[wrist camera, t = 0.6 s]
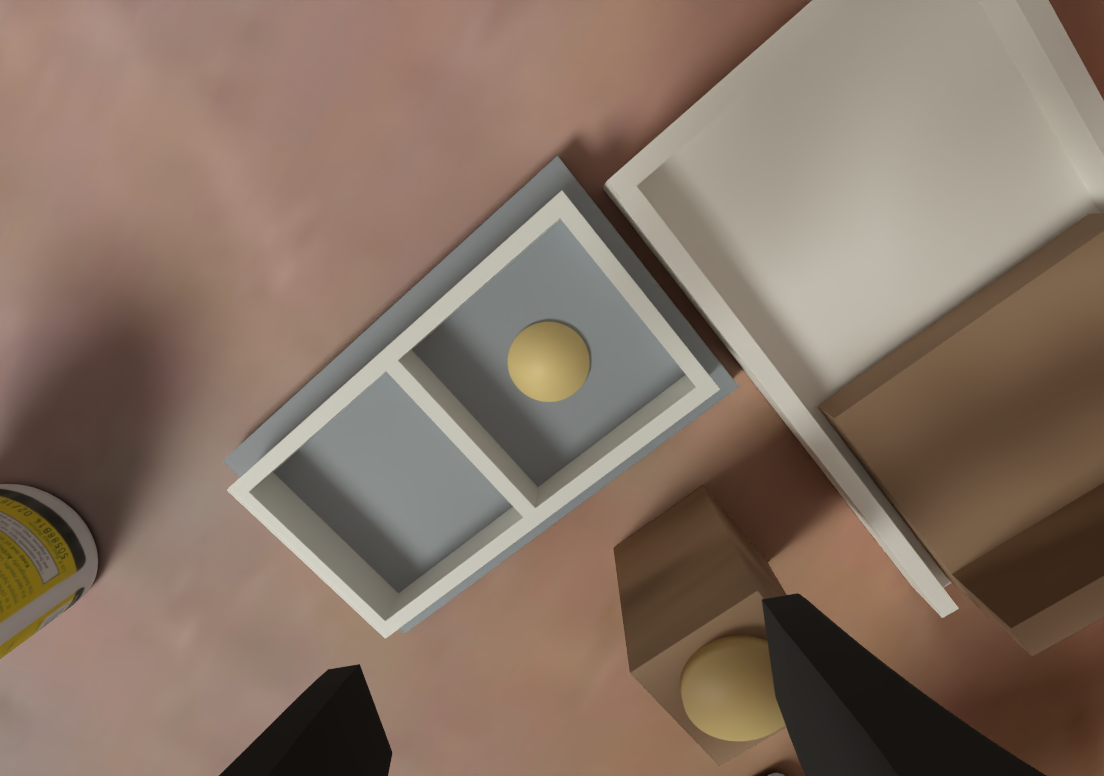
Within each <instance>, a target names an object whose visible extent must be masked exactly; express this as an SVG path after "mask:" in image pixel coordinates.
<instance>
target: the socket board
mask: <svg viewBox="0 0 1104 776" xmlns="http://www.w3.org/2000/svg"><path fill="white" fill-rule="evenodd" d="M738 387H739V386H738V385H737V384H736V382H735V381H734V380H733V379H732V377H731V376H730V375H729V373H728V372H727V371H726V370H725V368H724V367H723V366H722V365H721V363H720V362H719V361H718V359H717V358H716V357H715V356H714V354H713V353H712V352H711V351H710V349H709V348H708V347H707V345H706V344H705V343H704V342H703V340H702V339H701V338H700V337H699V335H698V334H697V333H696V331H695V330H694V329H693V328H692V326H691V325H690V324H689V323H688V321H687V320H686V319H685V317H684V316H683V315H682V314H681V312H680V311H679V310H678V309H677V307H676V306H675V305H674V303H673V302H672V301H671V300H670V298H669V297H668V296H667V295H666V293H665V292H664V291H663V289H662V288H661V287H660V286H659V284H658V283H657V282H656V281H655V279H654V278H653V277H652V275H651V274H650V273H649V272H648V270H647V269H646V268H645V267H644V265H643V264H642V263H641V261H640V260H639V259H638V258H637V256H636V255H635V254H634V252H633V251H632V250H631V249H630V247H629V246H628V245H627V244H626V242H625V241H624V240H623V238H622V237H621V236H620V235H619V233H618V232H617V231H616V230H615V228H614V227H613V226H612V224H611V223H610V222H609V221H608V219H607V218H606V217H605V216H604V214H603V213H602V212H601V210H600V209H599V208H598V207H597V205H596V204H595V203H594V202H593V200H592V199H591V198H590V196H589V195H588V194H587V193H586V191H585V190H584V189H583V188H582V186H581V185H580V184H579V182H578V181H577V180H576V179H575V177H574V176H573V175H572V174H571V172H570V171H569V170H568V168H567V167H566V166H565V165H564V163H563V162H562V161H561V160H560V158H559V157H558V156H557V157H555V158H554V159H553V160H552V161H551V162H550V163H549V164H548V165H547V166H546V167H544V168H543V169H542V170H541V171H540V172H539V173H538V174H537V175H536V176H535V177H533V178H532V179H531V180H530V181H529V182H528V183H527V184H526V185H525V186H524V187H523V188H521V189H520V190H519V191H518V192H517V193H516V194H515V195H514V196H513V197H512V198H510V199H509V200H508V201H507V202H506V203H505V204H504V205H503V206H502V207H501V208H499V209H498V210H497V211H496V212H495V213H494V214H493V215H492V216H491V217H490V218H488V219H487V220H486V221H485V222H484V223H483V224H482V225H481V226H480V227H479V228H478V229H476V230H475V231H474V232H473V233H472V234H471V235H470V236H469V237H468V238H467V239H465V240H464V241H463V242H462V243H461V244H460V245H459V246H458V247H457V248H456V249H454V250H453V251H452V252H451V253H450V254H449V255H448V256H447V257H446V258H445V259H444V260H442V261H441V262H440V263H439V264H438V265H437V266H436V267H435V268H434V269H433V270H431V271H430V272H429V273H428V274H427V275H426V276H425V277H424V278H423V279H422V280H420V281H419V282H418V283H417V284H416V285H415V286H414V287H413V288H412V289H411V290H410V291H408V292H407V293H406V294H405V295H404V296H403V297H402V298H401V299H400V300H399V301H397V302H396V303H395V304H394V305H393V306H392V307H391V308H390V309H389V310H388V311H386V312H385V313H384V314H383V315H382V316H381V317H380V318H379V319H378V320H377V321H376V322H374V323H373V324H372V325H371V326H370V327H369V328H368V329H367V330H366V331H365V332H363V333H362V334H361V335H360V336H359V337H358V338H357V339H356V340H355V341H354V342H352V343H351V344H350V345H349V346H348V347H347V348H346V349H345V350H344V351H343V352H341V353H340V354H339V355H338V356H337V357H336V358H335V359H334V360H333V361H332V362H331V363H329V364H328V365H327V366H326V367H325V368H324V369H323V370H322V371H321V372H320V373H318V374H317V375H316V376H315V377H314V378H313V379H312V380H311V381H310V382H309V383H307V384H306V385H305V386H304V387H303V388H302V389H301V390H300V391H299V392H298V393H297V394H295V395H294V396H293V397H292V398H291V399H290V400H289V401H288V402H287V403H286V404H284V405H283V406H282V407H281V408H280V409H279V410H278V411H277V412H276V413H275V414H273V415H272V416H271V417H270V418H269V419H268V420H267V421H266V422H265V423H264V424H263V425H261V426H260V427H259V428H258V429H257V430H256V431H255V432H254V433H253V434H252V435H250V436H249V437H248V438H247V439H246V440H245V441H244V442H243V443H242V444H241V445H239V446H238V447H237V448H236V449H235V450H234V451H233V452H232V453H231V454H230V455H229V456H227V457H226V458H225V459H224V460H223V462H224V463H225V464H226V465H227V466H228V467H229V468H230V469H231V470H233V471H234V472H235V473H236V474H237V475H238V476H239V477H240V478H239V479H238V480H237V481H236V482H235V483H234V484H233V485H231V486H230V487H229V488H228V489H227V491H228V492H229V493H230V494H231V495H233V496H234V497H235V498H236V499H237V500H238V501H239V502H240V503H241V504H242V505H243V506H244V507H245V508H246V509H247V510H249V511H250V512H251V513H252V514H253V515H254V516H255V517H256V518H257V519H258V520H259V521H260V522H261V523H262V524H263V525H265V526H266V527H267V528H268V529H269V530H270V531H271V532H272V533H273V534H274V535H275V536H276V537H277V538H278V539H279V540H281V541H282V542H283V543H284V544H285V545H286V546H287V547H288V548H289V549H290V550H291V551H292V552H293V553H294V554H295V555H297V556H298V557H299V558H300V559H301V560H302V561H303V562H304V563H305V564H306V565H307V566H308V567H309V568H310V569H311V570H313V571H314V572H315V573H316V574H317V575H318V576H319V577H320V578H321V579H322V580H323V581H324V582H325V583H326V584H327V585H329V586H330V587H331V588H332V589H333V590H334V591H335V592H336V593H337V594H338V595H339V596H340V597H341V598H342V599H343V600H345V601H346V602H347V603H348V604H349V605H350V606H351V607H352V608H353V609H354V610H355V611H356V612H357V613H358V614H359V615H361V616H362V617H363V618H364V619H365V620H366V621H367V622H368V623H369V624H370V625H371V626H372V627H373V628H374V629H375V630H377V631H378V632H379V633H380V634H381V635H382V636H383V637H384V638H385V639H386V638H387V637H388V636H390V635H391V634H392V633H394V632H395V631H396V630H398V629H400V630H401V631H402V632H403V633H404V634H405V633H407V632H408V631H409V630H411V629H412V628H413V627H415V626H416V625H418V624H419V623H420V622H422V621H423V620H424V619H426V618H427V617H428V616H430V615H431V614H432V613H434V612H435V611H436V610H438V609H439V608H441V607H442V606H443V605H445V604H446V603H447V602H449V601H450V600H451V599H453V598H454V597H455V596H457V595H458V594H459V593H461V592H462V591H464V590H465V589H466V588H468V587H469V586H470V585H472V584H473V583H474V582H476V581H477V580H478V579H480V578H481V577H482V576H484V575H485V574H487V573H488V572H489V571H491V570H492V569H493V568H495V567H496V566H497V565H499V564H500V563H501V562H503V561H504V560H505V559H507V558H508V557H510V556H511V555H512V554H514V553H515V552H516V551H518V550H519V549H520V548H522V547H523V546H524V545H526V544H527V543H528V542H530V541H531V540H532V539H534V538H535V537H537V536H538V535H539V534H541V533H542V532H543V531H545V530H546V529H547V528H549V527H550V526H551V525H553V524H554V523H555V522H557V521H558V520H560V519H561V518H562V517H564V516H565V515H566V514H568V513H569V512H570V511H572V510H573V509H574V508H576V507H577V506H578V505H580V504H581V503H583V502H584V501H585V500H587V499H588V498H589V497H591V496H592V495H593V494H595V493H596V492H597V491H599V490H600V489H601V488H603V487H604V486H606V485H607V484H608V483H610V482H611V481H612V480H614V479H615V478H616V477H618V476H619V475H620V474H622V473H623V472H624V471H626V470H627V469H629V468H630V467H631V466H633V465H634V464H635V463H637V462H638V461H639V460H641V459H642V458H643V457H645V456H646V455H647V454H649V453H650V452H652V451H653V450H654V449H656V448H657V447H658V446H660V445H661V444H662V443H664V442H665V441H666V440H668V439H669V438H670V437H672V436H673V435H674V434H676V433H677V432H679V431H680V430H681V429H683V428H684V427H685V426H687V425H688V424H689V423H691V422H692V421H693V420H695V419H696V418H697V417H699V416H700V415H702V414H703V413H704V412H706V411H707V410H708V409H710V408H711V407H712V406H714V405H715V404H716V403H718V402H719V401H720V400H722V399H723V398H725V397H726V396H727V395H729V394H730V393H731V392H733V391H734V390H735V389H737V388H738Z"/></svg>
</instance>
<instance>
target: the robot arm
mask: <svg viewBox="0 0 1104 776" xmlns="http://www.w3.org/2000/svg"><path fill="white" fill-rule="evenodd" d="M762 606H763V613H764V620H765V627H766V634H767V641H768V648H769V655H770V662H771V670H772V677H773V684H774V691H775V697H776V700H777V703H778V705H779V708H780V711H781V714H782V716H783V719H784V722H785V724H786V727H787V730H788V733H789V735H790V738H791V740H792V743H793V746H794V748H795V751H796V754H797V756H798V759H799V761H800V764H801V766H802V768H803V770H804V772H805V774H806V776H1046V775H1044V774H1043V773H1041V772H1039V771H1038V770H1036V769H1035V768H1033V767H1031V766H1030V765H1028V764H1026V763H1025V762H1023V761H1022V760H1020V759H1018V758H1017V757H1015V756H1014V755H1012V754H1011V753H1009V752H1008V751H1006V750H1005V749H1003V748H1002V747H1000V746H999V745H997V744H996V743H994V742H993V741H991V740H990V739H988V738H987V737H985V736H984V735H982V734H981V733H979V732H978V731H976V730H975V729H973V728H972V727H970V726H969V725H968V724H966V723H965V722H963V721H962V720H960V719H959V718H958V717H956V716H955V715H953V714H952V713H950V712H949V711H947V710H946V709H945V708H943V707H942V706H940V705H939V704H938V703H936V702H935V701H934V700H932V699H931V698H929V697H928V696H927V695H925V694H924V693H923V692H921V691H920V690H918V689H917V688H916V687H915V686H913V685H912V684H911V683H909V682H908V681H907V680H905V679H904V678H903V677H901V676H900V675H899V674H897V673H896V672H895V671H894V670H892V669H891V668H890V667H888V666H887V665H886V664H884V663H883V662H882V661H880V660H879V659H878V658H877V657H875V656H874V655H873V654H872V653H870V652H869V651H868V650H867V649H865V648H864V647H863V646H862V645H860V644H859V643H858V642H857V641H855V640H854V639H853V638H852V637H851V636H849V635H848V634H847V633H846V632H844V631H843V630H842V629H841V628H840V627H838V626H837V625H836V624H835V623H834V622H833V621H831V620H830V619H829V618H828V617H827V616H825V615H824V614H823V613H822V612H821V611H820V610H818V609H817V608H816V607H815V606H814V605H813V604H811V603H810V602H809V601H808V600H807V599H806V598H804V597H803V596H801V595H800V594H792V595H785V596H779V597H773V598H767V599H762ZM391 757H392V750H391V748H390V745H389V742H388V740H387V737H386V734H385V731H384V729H383V726H382V723H381V721H380V718H379V715H378V713H377V710H376V707H375V704H374V702H373V699H372V696H371V694H370V691H369V688H368V686H367V683H366V680H365V677H364V675H363V672H362V669H361V667H360V664H359V665H353V666H347V667H341V668H334V669H328V670H327V671H326V672H325V673H324V674H323V675H321V676H320V677H319V678H318V679H317V680H316V681H315V682H314V683H313V684H312V685H311V686H309V687H308V688H307V689H306V690H305V691H304V692H303V693H302V694H301V695H300V696H299V697H298V698H297V699H296V700H295V701H294V702H293V703H292V704H291V705H290V706H289V707H288V708H287V709H286V710H285V711H284V712H283V713H282V714H281V715H280V716H279V717H278V718H277V719H276V720H275V721H274V722H273V723H272V724H271V725H270V726H269V727H268V728H267V729H266V730H265V731H264V732H263V733H262V734H261V735H260V736H259V737H258V738H257V739H256V740H255V741H254V742H253V743H252V744H251V745H250V746H249V747H248V748H247V749H246V750H245V751H244V752H243V753H242V754H241V755H240V756H238V757H237V758H236V759H235V760H234V761H233V762H232V763H231V764H230V765H229V766H228V767H227V768H226V769H225V770H224V771H223V772H222V773H221V774H220V775H219V776H388V773H389V767H390V762H391ZM768 776H785V775H783V774H780V773H772V774H770V775H768Z"/></svg>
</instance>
